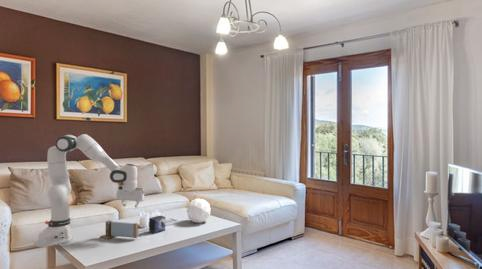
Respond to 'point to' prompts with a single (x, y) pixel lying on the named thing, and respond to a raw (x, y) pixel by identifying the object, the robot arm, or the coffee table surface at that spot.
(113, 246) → the coffee table surface
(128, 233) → the gate
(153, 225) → the small box
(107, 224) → the gate post
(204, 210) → the geometric orb
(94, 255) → the coffee table surface
